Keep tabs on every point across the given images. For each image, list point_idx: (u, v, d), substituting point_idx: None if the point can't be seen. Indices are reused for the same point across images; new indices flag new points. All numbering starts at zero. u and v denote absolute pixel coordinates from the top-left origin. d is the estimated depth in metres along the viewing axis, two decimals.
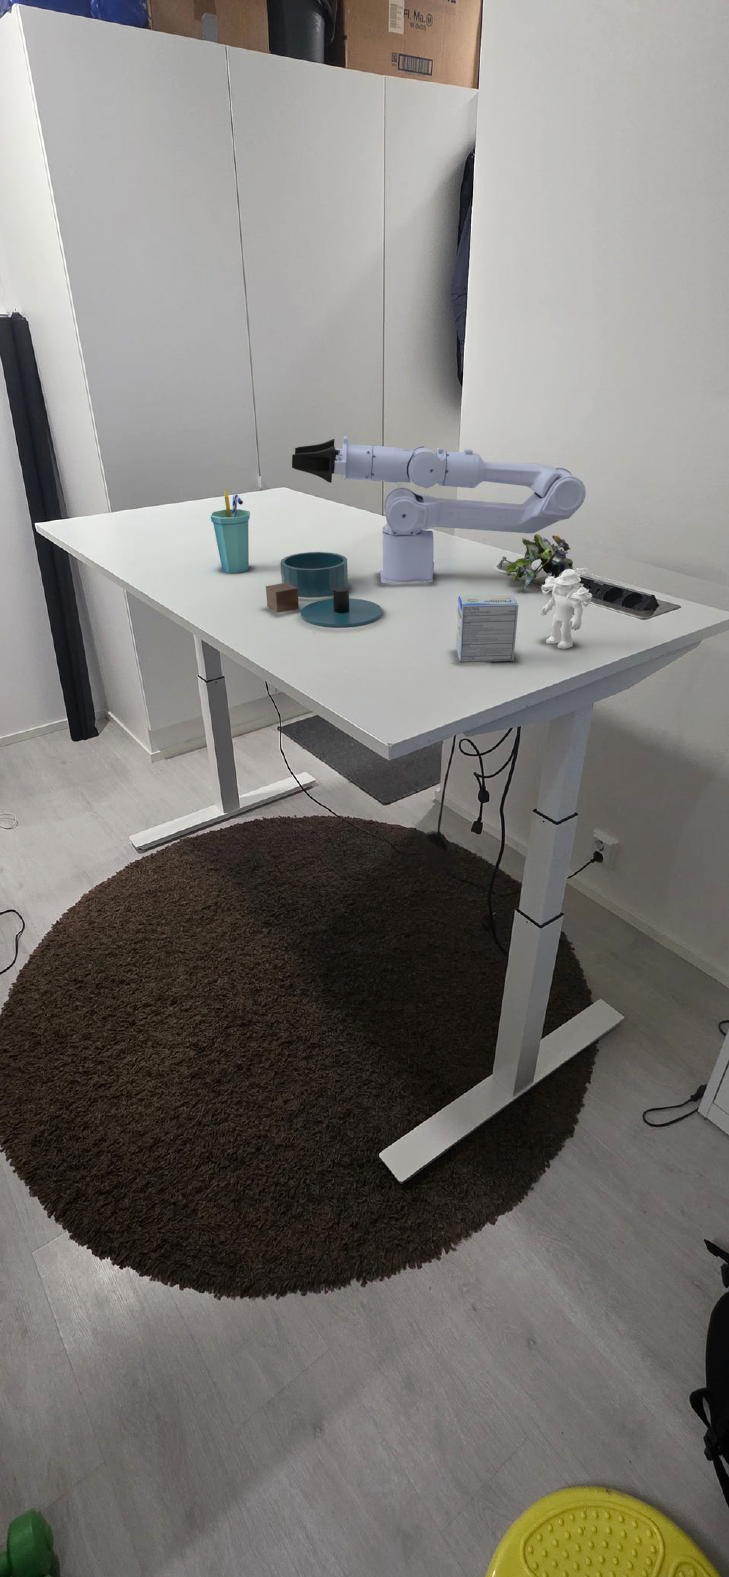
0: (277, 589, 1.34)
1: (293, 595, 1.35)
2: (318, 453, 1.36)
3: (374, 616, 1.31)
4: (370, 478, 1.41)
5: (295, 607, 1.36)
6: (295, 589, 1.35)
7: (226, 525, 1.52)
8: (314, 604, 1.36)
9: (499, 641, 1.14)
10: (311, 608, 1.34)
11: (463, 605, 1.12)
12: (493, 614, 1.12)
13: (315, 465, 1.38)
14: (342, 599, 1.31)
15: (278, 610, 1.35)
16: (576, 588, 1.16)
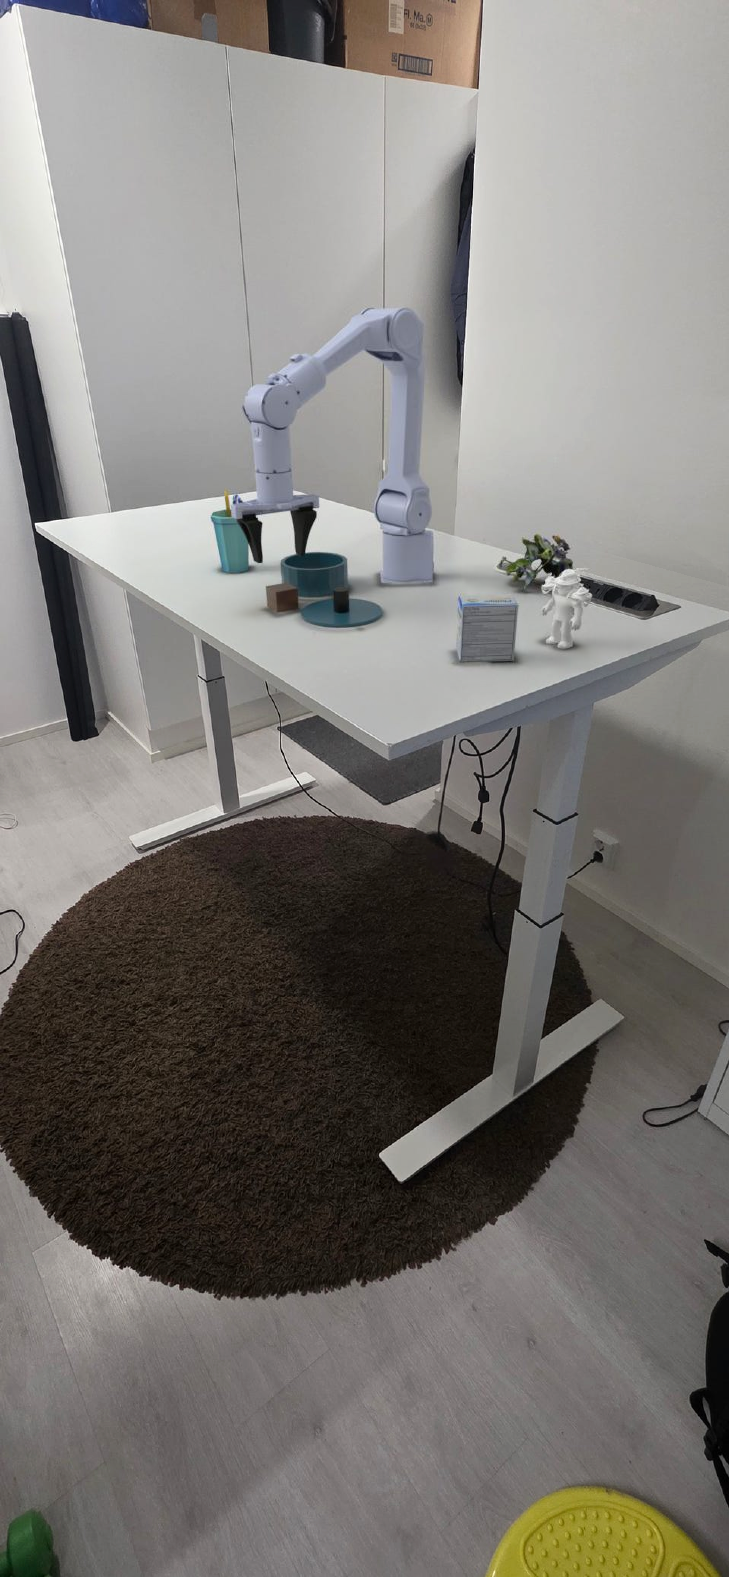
0: (277, 589, 1.34)
1: (293, 595, 1.35)
2: (310, 528, 1.32)
3: (374, 616, 1.31)
4: None
5: (295, 607, 1.36)
6: (295, 589, 1.35)
7: (226, 525, 1.52)
8: (314, 604, 1.36)
9: (499, 641, 1.14)
10: (311, 608, 1.34)
11: (463, 605, 1.12)
12: (493, 614, 1.12)
13: None
14: (342, 599, 1.31)
15: (278, 610, 1.35)
16: (576, 588, 1.16)
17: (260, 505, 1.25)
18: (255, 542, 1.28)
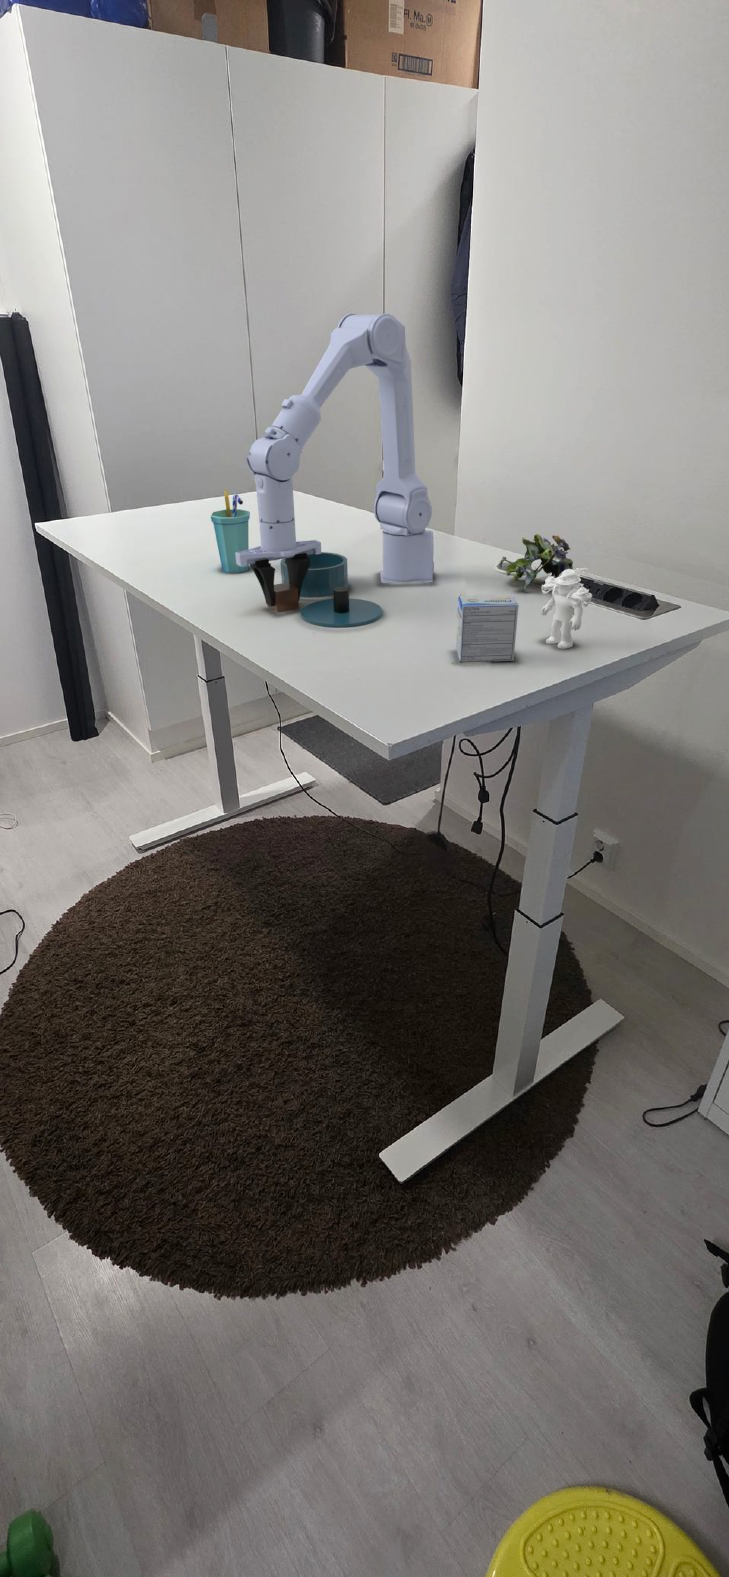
0: (277, 589, 1.34)
1: (293, 595, 1.35)
2: (304, 575, 1.35)
3: (374, 616, 1.31)
4: None
5: (295, 607, 1.36)
6: (295, 589, 1.35)
7: (226, 525, 1.52)
8: (314, 604, 1.36)
9: (499, 641, 1.14)
10: (311, 608, 1.34)
11: (463, 605, 1.12)
12: (493, 614, 1.12)
13: None
14: (342, 599, 1.31)
15: (278, 610, 1.35)
16: (576, 588, 1.16)
17: (264, 553, 1.29)
18: (268, 587, 1.32)
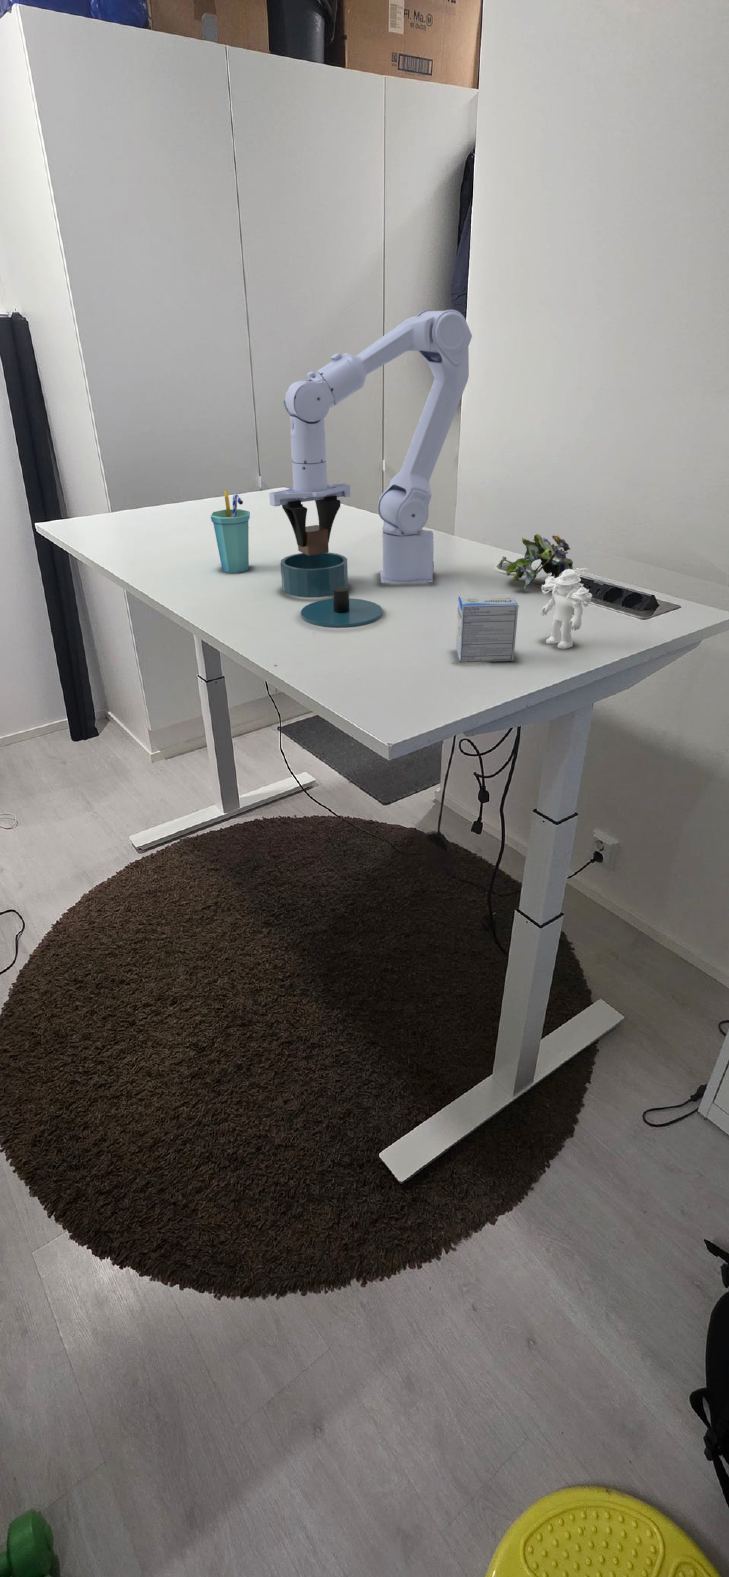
0: (308, 530, 1.40)
1: (323, 536, 1.41)
2: (334, 516, 1.41)
3: (374, 616, 1.31)
4: None
5: (325, 548, 1.42)
6: (325, 530, 1.41)
7: (226, 525, 1.52)
8: (314, 604, 1.36)
9: (499, 641, 1.14)
10: (311, 608, 1.34)
11: (463, 605, 1.12)
12: (493, 614, 1.12)
13: None
14: (342, 599, 1.31)
15: (309, 550, 1.41)
16: (576, 588, 1.16)
17: (297, 493, 1.35)
18: (300, 527, 1.38)
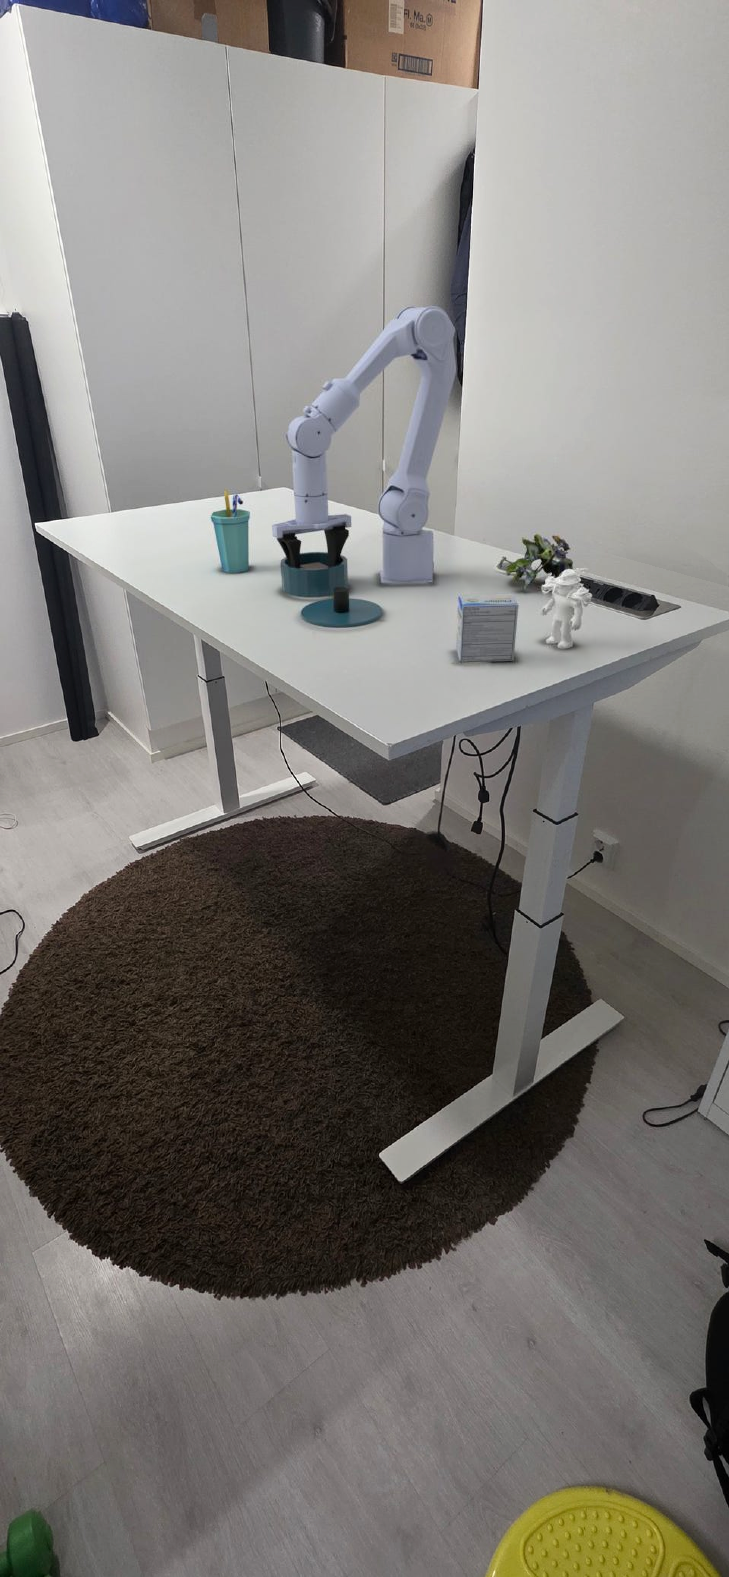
0: (310, 568, 1.44)
1: None
2: (343, 545, 1.44)
3: (374, 616, 1.31)
4: None
5: None
6: (327, 567, 1.44)
7: (226, 525, 1.52)
8: (314, 604, 1.36)
9: (499, 641, 1.14)
10: (311, 608, 1.34)
11: (463, 605, 1.12)
12: (493, 614, 1.12)
13: None
14: (342, 599, 1.31)
15: None
16: (576, 588, 1.16)
17: (299, 525, 1.38)
18: (294, 559, 1.40)
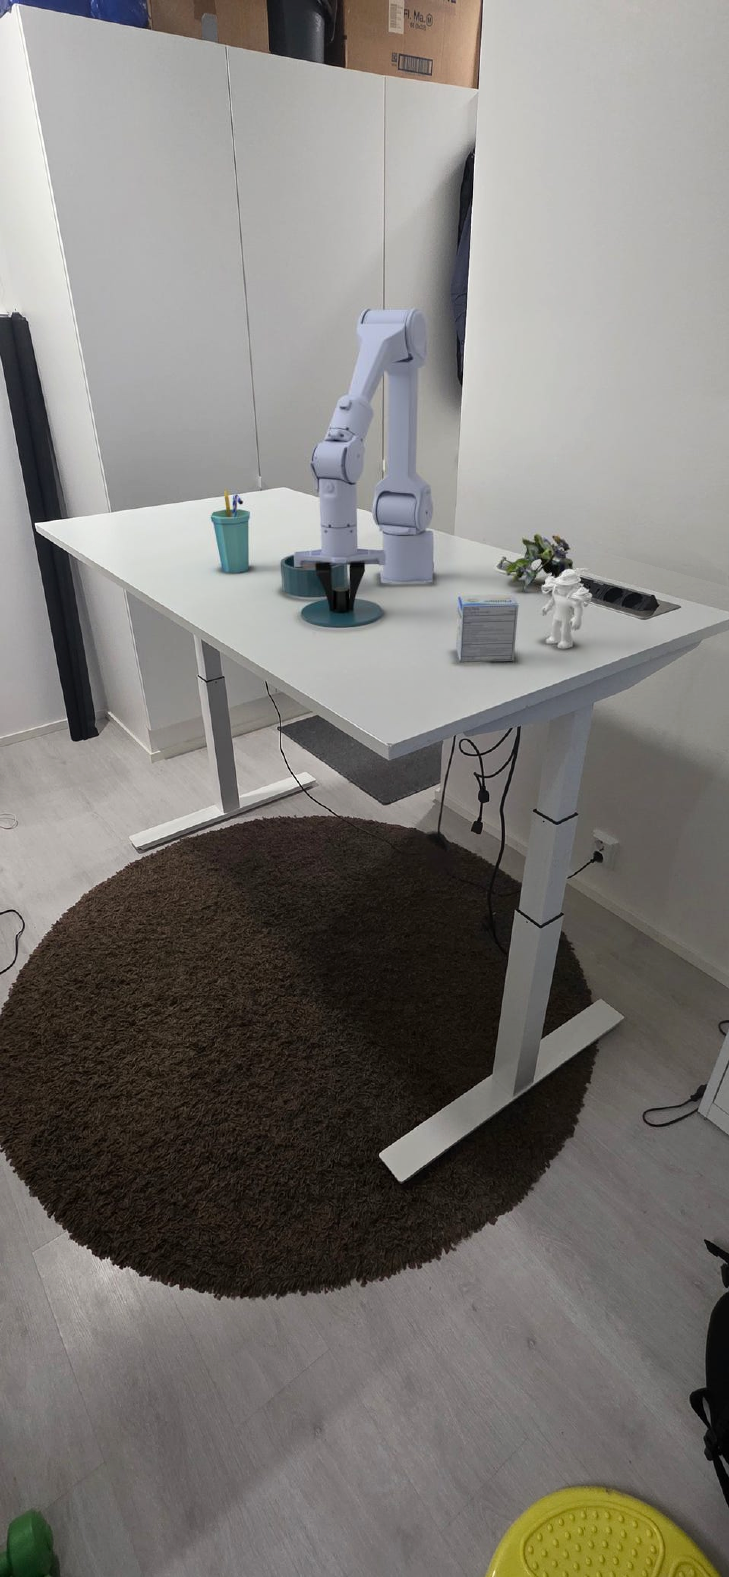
0: (310, 568, 1.44)
1: None
2: (358, 584, 1.30)
3: (374, 616, 1.31)
4: None
5: None
6: None
7: (226, 525, 1.52)
8: (314, 604, 1.36)
9: (499, 641, 1.14)
10: (311, 608, 1.34)
11: (463, 605, 1.12)
12: (493, 614, 1.12)
13: None
14: (342, 599, 1.31)
15: None
16: (576, 588, 1.16)
17: (317, 556, 1.27)
18: (325, 590, 1.30)
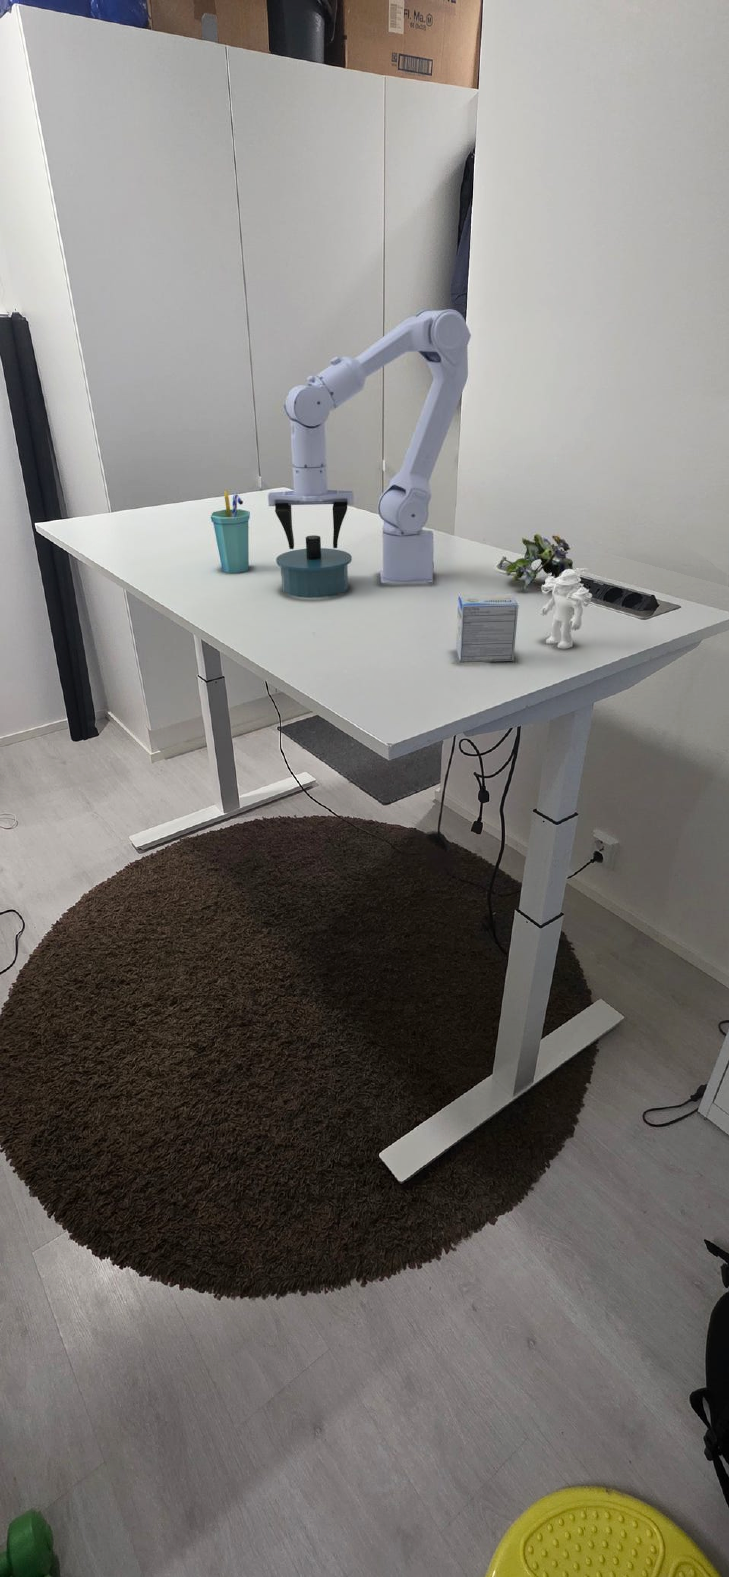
0: None
1: None
2: (341, 523, 1.39)
3: (343, 562, 1.41)
4: None
5: None
6: None
7: (226, 525, 1.52)
8: (289, 553, 1.47)
9: (499, 641, 1.14)
10: (286, 556, 1.45)
11: (463, 605, 1.12)
12: (493, 614, 1.12)
13: None
14: (314, 546, 1.42)
15: None
16: (576, 588, 1.16)
17: (289, 496, 1.37)
18: (284, 529, 1.40)
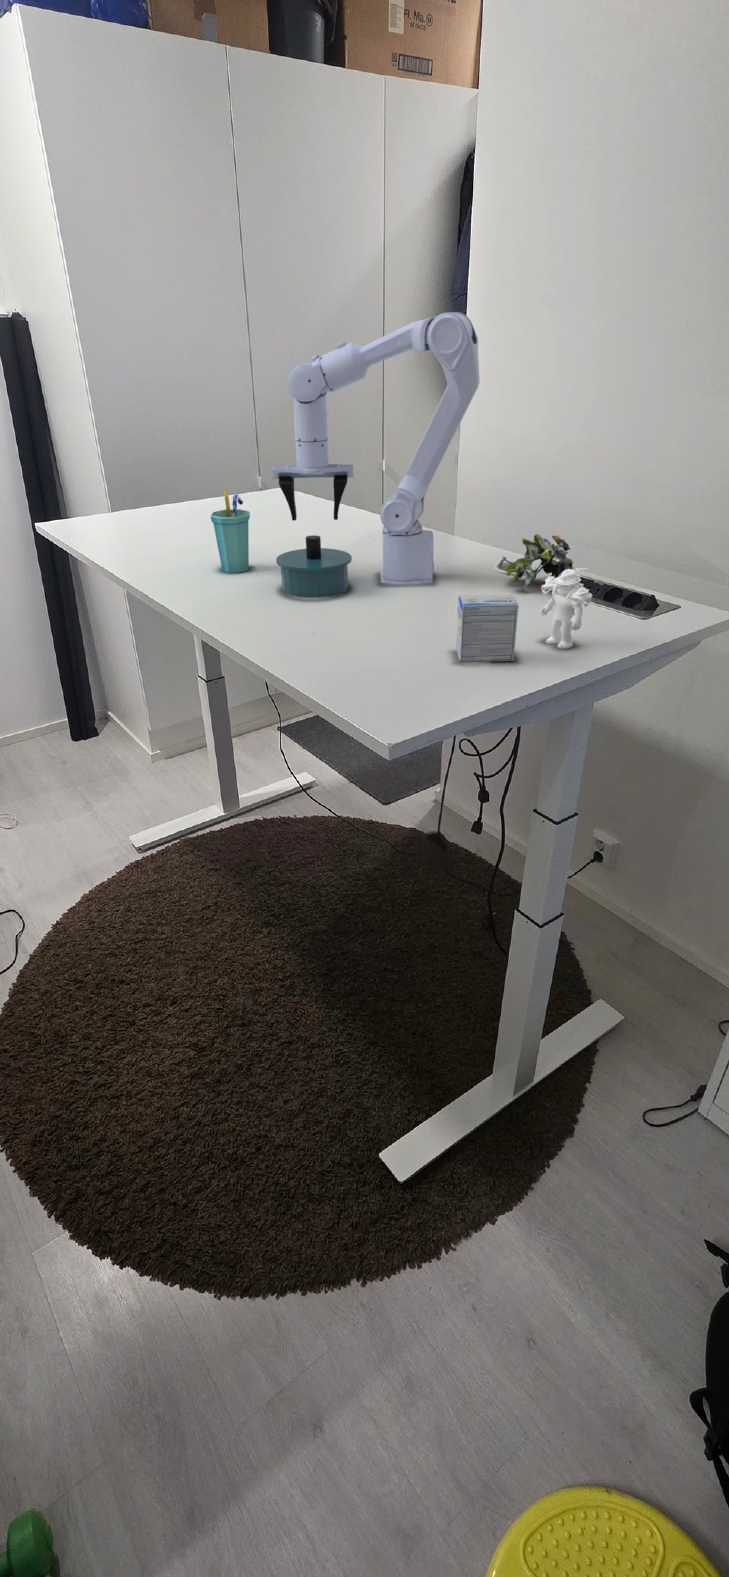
0: None
1: None
2: (341, 495, 1.46)
3: (343, 562, 1.41)
4: None
5: None
6: None
7: (226, 525, 1.52)
8: (289, 553, 1.47)
9: (499, 641, 1.14)
10: (286, 556, 1.45)
11: (463, 605, 1.12)
12: (493, 614, 1.12)
13: None
14: (314, 546, 1.42)
15: None
16: (576, 588, 1.16)
17: (292, 469, 1.44)
18: (287, 501, 1.47)
